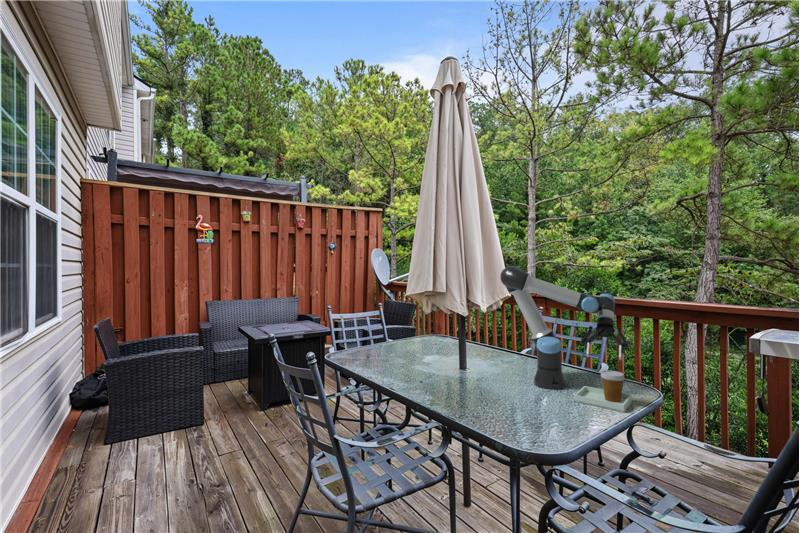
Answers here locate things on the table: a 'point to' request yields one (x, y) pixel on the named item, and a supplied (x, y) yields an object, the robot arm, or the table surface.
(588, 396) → the sage tray
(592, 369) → the table surface
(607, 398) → the disposable coffee cup
